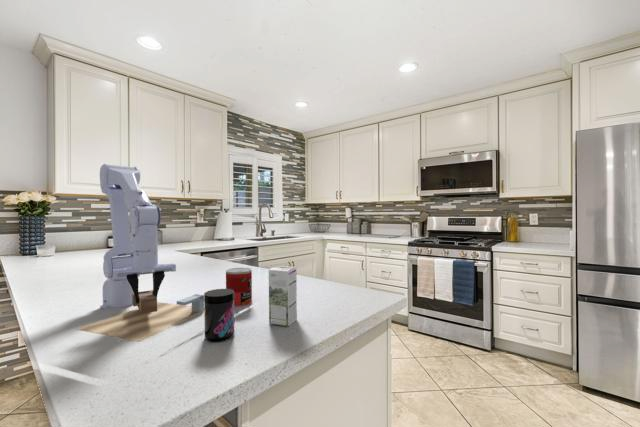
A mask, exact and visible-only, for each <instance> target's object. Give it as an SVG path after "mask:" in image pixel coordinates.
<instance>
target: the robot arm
mask: <svg viewBox="0 0 640 427" xmlns="http://www.w3.org/2000/svg"><path fill="white" fill-rule="evenodd" d="M140 181H141V171H140V169H139V168H138V166H127V165H126V166H124V165H114V164H107V163H103V164H102V165H101V166H100V169H99V184H100V190H101V193H102V194H103V195H106V196H107V198H108V202H109V208H110V209H109V210H110V221H111V222H110V223H111V229H112V230H111V231H112V232H111V233H112V241H113V246H112V247H111V248H110V249H109V250H107V251H106V252H105V253H104V255H103V263H102V267H103V268H102V271H103V275H104V278H106V280H105V281H104V283H103V284H102V305H100V306H99V308H101V309H105V308H108V307H111V308H123V307H124V308H125V307H130V306H133V304H132V293H134V295H135V301H136V303H139V293H138V292H139V277H140V276H141V275H150V274H152V290H153V295H154V296H155V297H156V298H157V299H158V295H159V289H160V287H161V284H162V282H163V281H164V278H165V276H166V274H165V273H169V272H177V264H176V263H165V264H164V263H163V264H158V263H159V260H158V257H159V255H158V250H159V249H158V227H160V225H161V222H162V212H161V209H160V207H159V205H155V204H152V202H151V200H150V198H149V197H148V194H147V193H146V191H145V190H142V189H140V187H139V184H140ZM131 235H132V236H131Z"/></svg>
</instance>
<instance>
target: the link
mask: <svg viewBox="0 0 640 427" xmlns="http://www.w3.org/2000/svg"><path fill="white" fill-rule="evenodd" d="M138 293H139V303H136V301H135V295H134V293H132V304H133V305H132V306H133V307H137V308H139V310H140V312H141V314H144V313H150V312H156V311H157V302H158V297H157V298H156V297H155V296H154V295H153V289H150V290H144V291H138Z"/></svg>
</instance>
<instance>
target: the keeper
mask: <svg viewBox="0 0 640 427" xmlns="http://www.w3.org/2000/svg"><path fill="white" fill-rule="evenodd" d="M190 304H191V306H192V312H197V313H200V312H203V311H204V294H197V293H196V294H194V295H191V296H188V297H185V298H181V299H180V300H177V301H176V305H184V306H188V305H190ZM203 313H204V312H203Z"/></svg>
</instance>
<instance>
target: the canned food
mask: <svg viewBox="0 0 640 427" xmlns="http://www.w3.org/2000/svg"><path fill="white" fill-rule="evenodd" d="M252 276H253V275H252V268H249V267H232V268H227V269H226V270H225V289H232V290H234V307H241V306H247V305H249V304H251V303H252V302H253V293H252V292H253V289H252V288H253V279H252V278H253V277H252Z"/></svg>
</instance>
